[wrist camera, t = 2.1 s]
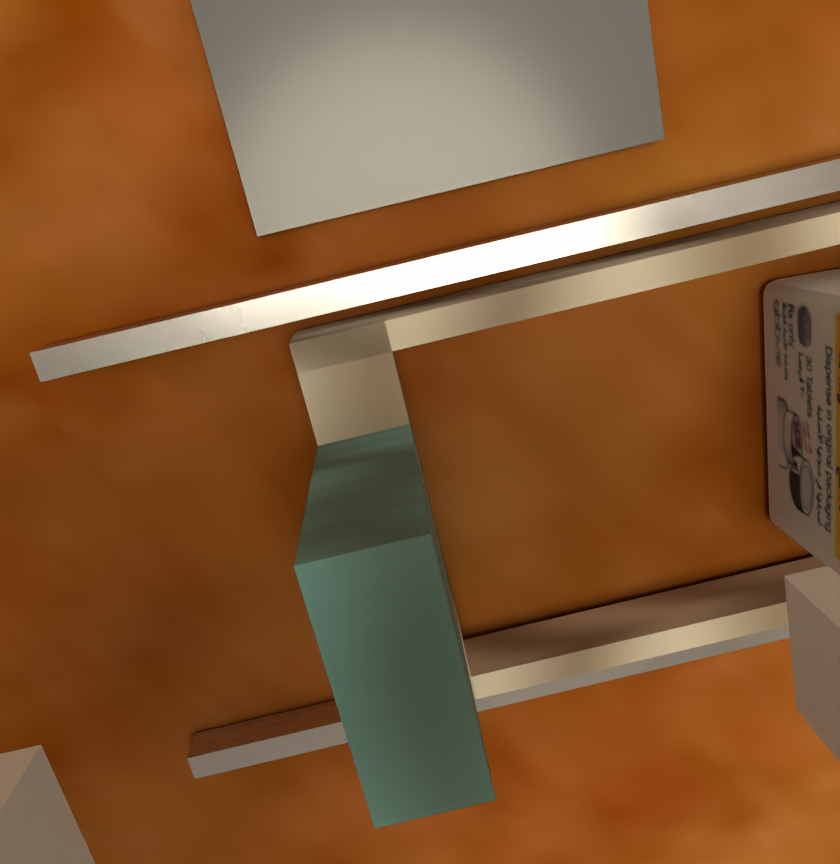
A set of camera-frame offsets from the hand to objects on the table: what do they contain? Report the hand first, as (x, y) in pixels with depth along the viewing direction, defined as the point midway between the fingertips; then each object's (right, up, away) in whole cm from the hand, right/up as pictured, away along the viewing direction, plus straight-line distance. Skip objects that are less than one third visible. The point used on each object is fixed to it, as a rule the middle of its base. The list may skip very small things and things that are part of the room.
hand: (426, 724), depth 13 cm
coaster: (0, +17, +6) cm, 18 cm away
